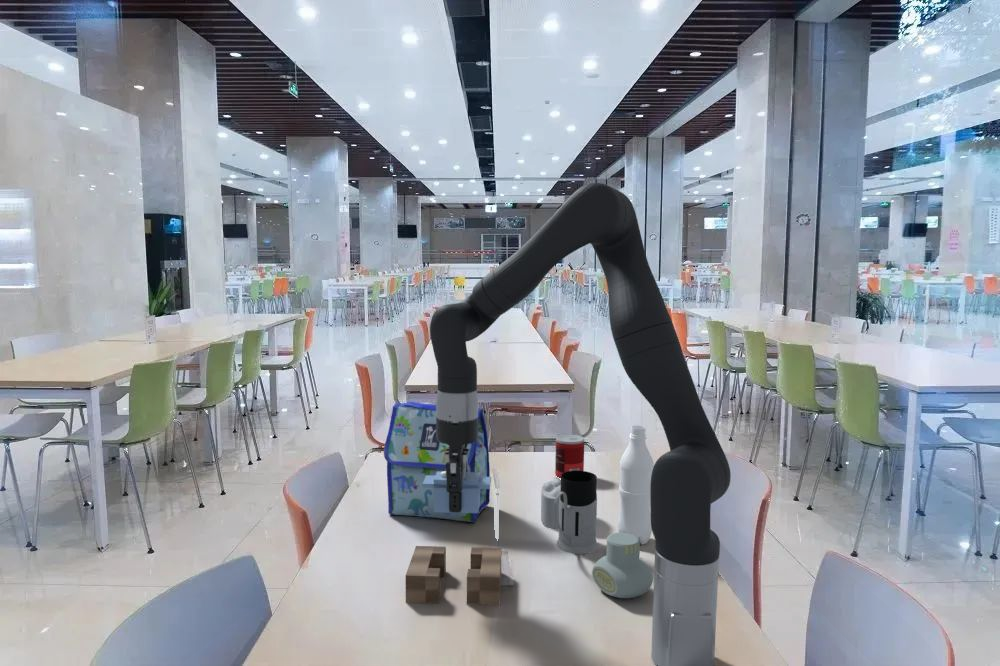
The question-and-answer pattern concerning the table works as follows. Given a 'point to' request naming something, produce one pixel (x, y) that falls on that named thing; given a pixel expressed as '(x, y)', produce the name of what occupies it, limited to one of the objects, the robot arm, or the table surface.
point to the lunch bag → (425, 461)
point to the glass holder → (577, 512)
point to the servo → (469, 492)
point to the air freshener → (622, 568)
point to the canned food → (569, 454)
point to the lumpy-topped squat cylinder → (549, 502)
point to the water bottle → (636, 487)
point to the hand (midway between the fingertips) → (456, 505)
